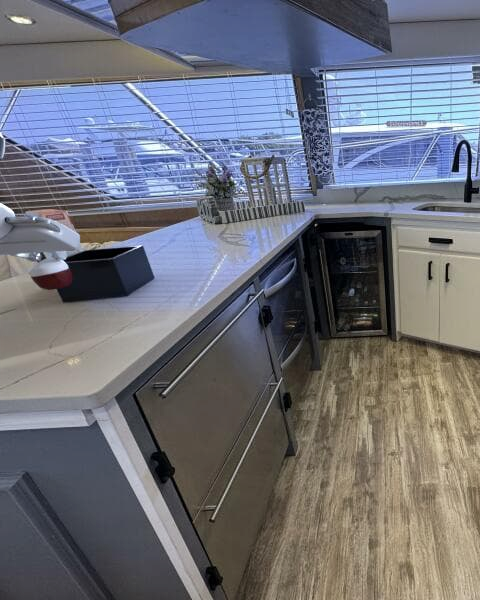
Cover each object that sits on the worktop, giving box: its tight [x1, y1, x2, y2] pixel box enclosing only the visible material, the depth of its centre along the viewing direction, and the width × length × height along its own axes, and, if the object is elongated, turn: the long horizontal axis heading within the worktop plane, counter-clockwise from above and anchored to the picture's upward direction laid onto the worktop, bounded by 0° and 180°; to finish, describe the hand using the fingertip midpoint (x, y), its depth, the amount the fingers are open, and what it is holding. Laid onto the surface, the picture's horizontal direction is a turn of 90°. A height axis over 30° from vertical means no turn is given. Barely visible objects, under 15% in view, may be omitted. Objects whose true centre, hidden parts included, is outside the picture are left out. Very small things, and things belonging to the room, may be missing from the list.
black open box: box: [56, 245, 156, 304], centre depth 87 cm, size 15×15×10 cm
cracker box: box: [25, 208, 85, 258], centre depth 92 cm, size 14×6×21 cm, turn 58°
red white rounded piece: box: [27, 252, 73, 291], centre depth 70 cm, size 10×6×12 cm, turn 35°
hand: (50, 257), depth 71 cm, fingers closed on red white rounded piece, 4 cm apart
